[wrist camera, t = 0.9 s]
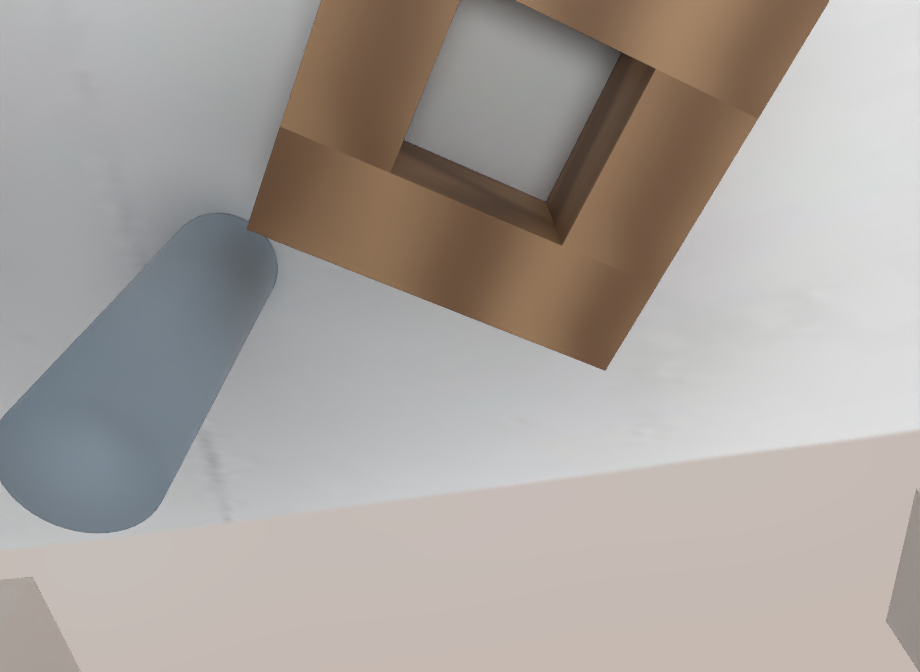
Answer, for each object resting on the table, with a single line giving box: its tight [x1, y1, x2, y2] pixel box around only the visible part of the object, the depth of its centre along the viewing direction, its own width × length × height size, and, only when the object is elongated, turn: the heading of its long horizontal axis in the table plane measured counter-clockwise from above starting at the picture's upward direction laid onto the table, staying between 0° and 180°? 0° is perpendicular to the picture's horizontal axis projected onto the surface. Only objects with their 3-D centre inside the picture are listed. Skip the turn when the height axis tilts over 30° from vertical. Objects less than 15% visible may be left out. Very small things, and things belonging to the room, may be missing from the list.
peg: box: [0, 213, 277, 533], centre depth 26 cm, size 4×4×14 cm
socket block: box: [246, 0, 829, 370], centre depth 27 cm, size 14×14×5 cm
